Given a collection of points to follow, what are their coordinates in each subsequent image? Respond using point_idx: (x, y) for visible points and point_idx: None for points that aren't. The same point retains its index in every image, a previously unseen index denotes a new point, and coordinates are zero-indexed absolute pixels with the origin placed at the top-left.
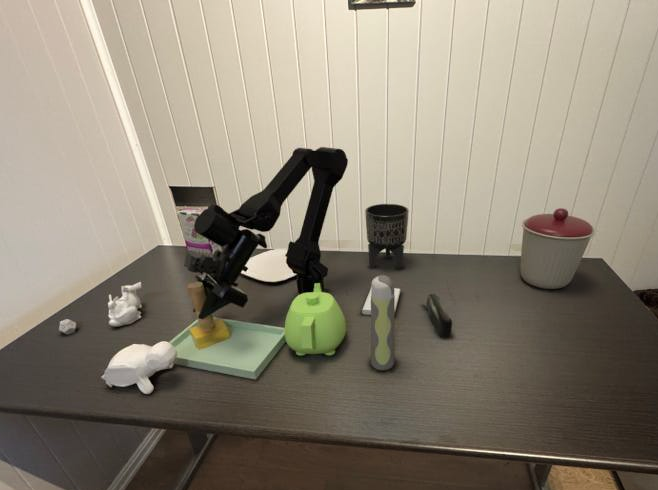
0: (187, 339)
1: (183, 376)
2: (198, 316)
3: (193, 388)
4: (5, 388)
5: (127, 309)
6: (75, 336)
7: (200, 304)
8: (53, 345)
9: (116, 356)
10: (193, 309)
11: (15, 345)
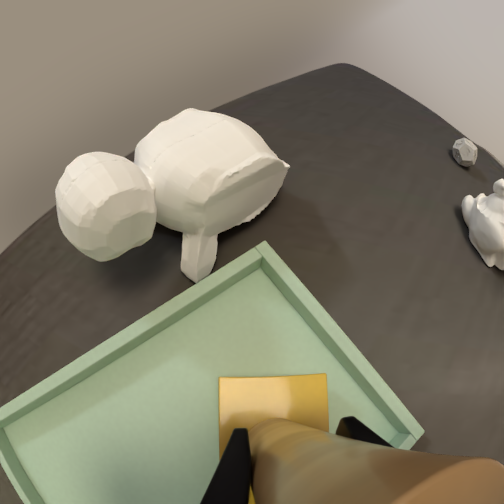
0: (322, 361)
1: (127, 293)
2: (239, 431)
3: (64, 295)
4: (330, 83)
5: (497, 224)
6: (446, 160)
7: (257, 489)
8: (426, 135)
9: (208, 112)
10: (354, 421)
11: (435, 114)
